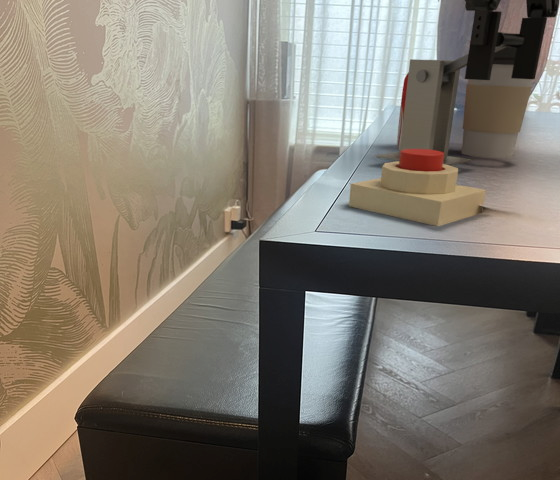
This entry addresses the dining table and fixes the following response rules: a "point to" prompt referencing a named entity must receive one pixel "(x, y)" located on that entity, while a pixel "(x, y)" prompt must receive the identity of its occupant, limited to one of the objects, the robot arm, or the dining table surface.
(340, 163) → the dining table surface
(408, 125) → the bracket
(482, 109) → the coffee cup
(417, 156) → the button
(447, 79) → the lever
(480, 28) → the robot arm
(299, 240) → the dining table surface
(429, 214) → the button block
